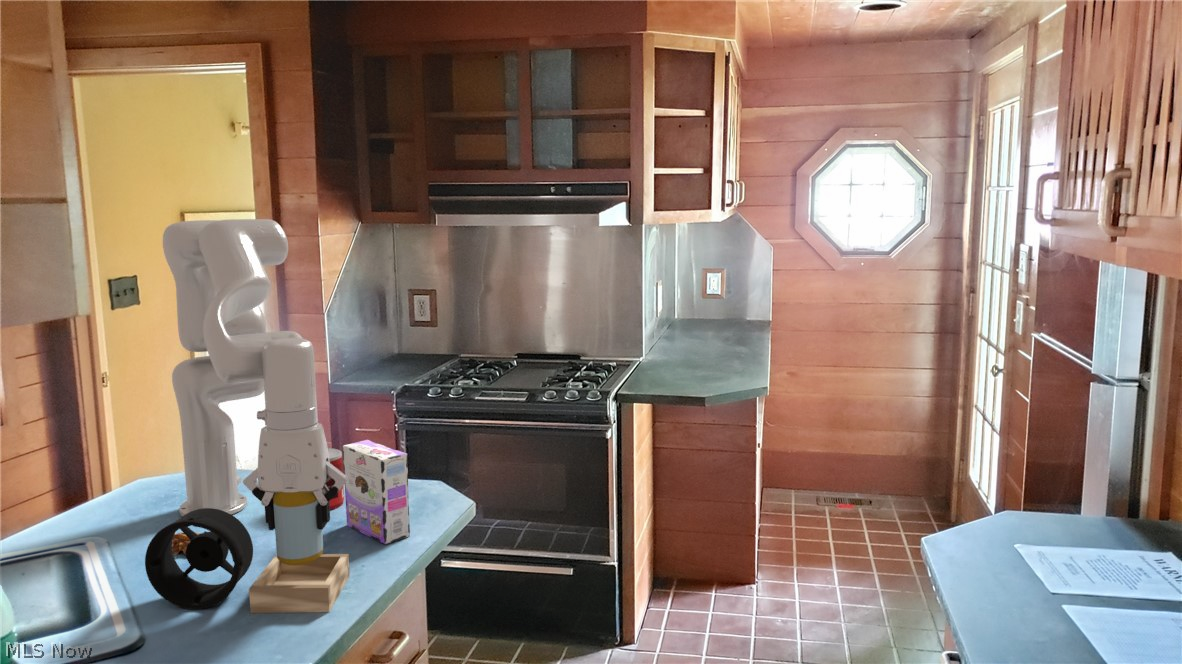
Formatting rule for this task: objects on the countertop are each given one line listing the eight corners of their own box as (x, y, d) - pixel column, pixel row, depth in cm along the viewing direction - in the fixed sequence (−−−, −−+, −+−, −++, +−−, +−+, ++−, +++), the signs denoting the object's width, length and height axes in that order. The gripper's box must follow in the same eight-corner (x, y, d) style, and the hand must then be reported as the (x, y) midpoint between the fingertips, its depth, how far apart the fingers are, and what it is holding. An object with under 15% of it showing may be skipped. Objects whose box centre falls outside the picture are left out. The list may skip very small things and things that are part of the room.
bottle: (331, 549, 133) (326, 461, 131) (308, 568, 126) (303, 476, 124) (292, 546, 134) (287, 458, 132) (268, 564, 128) (262, 472, 125)
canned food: (328, 494, 175) (326, 445, 173) (352, 503, 170) (350, 452, 168) (297, 505, 169) (294, 454, 167) (321, 514, 164) (318, 462, 162)
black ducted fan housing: (261, 498, 133) (234, 522, 124) (267, 580, 136) (241, 610, 126) (174, 497, 133) (140, 521, 124) (181, 580, 136) (148, 610, 126)
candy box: (411, 536, 154) (408, 452, 151) (384, 546, 149) (381, 460, 147) (371, 517, 163) (368, 437, 160) (345, 525, 159) (341, 444, 156)
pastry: (177, 535, 155) (176, 517, 154) (224, 545, 150) (223, 527, 150) (145, 549, 148) (143, 531, 148) (193, 561, 144) (191, 542, 143)
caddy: (277, 577, 137) (276, 554, 136) (349, 576, 137) (348, 553, 137) (250, 613, 125) (248, 588, 125) (329, 611, 126) (328, 587, 125)
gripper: (225, 425, 123) (233, 537, 125) (342, 424, 123) (347, 535, 126) (244, 412, 130) (252, 518, 133) (354, 411, 131) (359, 516, 133)
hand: (298, 525), depth 129 cm, fingers closed on bottle, 7 cm apart
